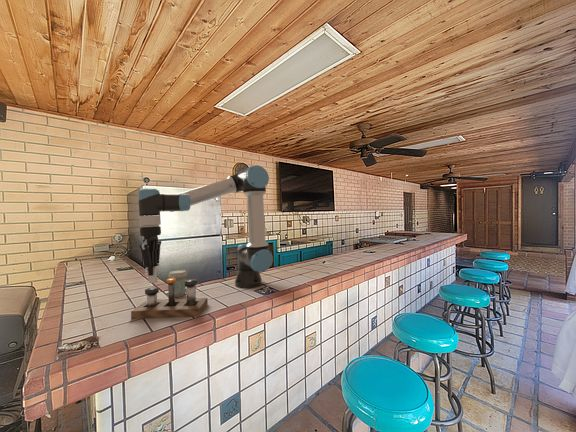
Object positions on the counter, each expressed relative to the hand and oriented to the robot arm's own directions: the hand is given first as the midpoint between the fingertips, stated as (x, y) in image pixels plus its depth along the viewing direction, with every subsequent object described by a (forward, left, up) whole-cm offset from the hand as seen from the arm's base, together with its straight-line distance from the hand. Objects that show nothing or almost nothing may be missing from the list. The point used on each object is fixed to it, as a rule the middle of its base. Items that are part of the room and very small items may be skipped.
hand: (152, 282), depth 99 cm
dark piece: (-8, 0, -9) cm, 12 cm away
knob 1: (0, 0, -12) cm, 12 cm away
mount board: (-8, 0, -12) cm, 14 cm away
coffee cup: (-3, -19, -13) cm, 23 cm away
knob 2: (-16, 0, -9) cm, 18 cm away
